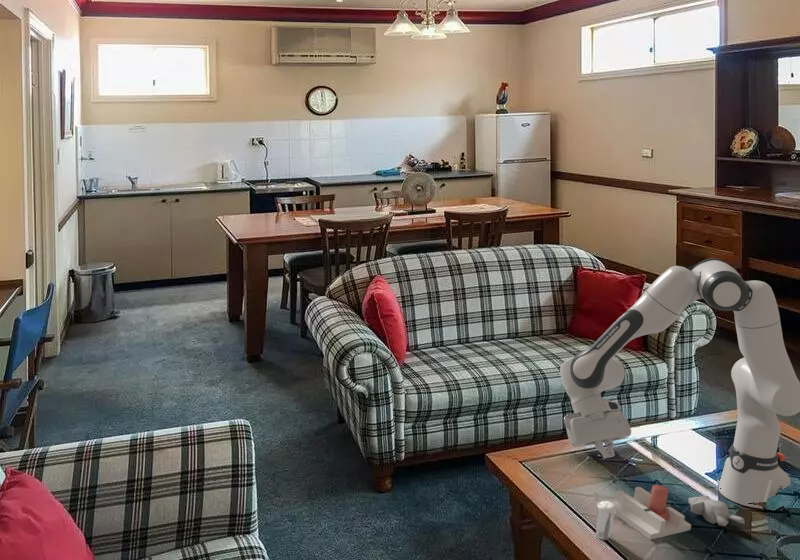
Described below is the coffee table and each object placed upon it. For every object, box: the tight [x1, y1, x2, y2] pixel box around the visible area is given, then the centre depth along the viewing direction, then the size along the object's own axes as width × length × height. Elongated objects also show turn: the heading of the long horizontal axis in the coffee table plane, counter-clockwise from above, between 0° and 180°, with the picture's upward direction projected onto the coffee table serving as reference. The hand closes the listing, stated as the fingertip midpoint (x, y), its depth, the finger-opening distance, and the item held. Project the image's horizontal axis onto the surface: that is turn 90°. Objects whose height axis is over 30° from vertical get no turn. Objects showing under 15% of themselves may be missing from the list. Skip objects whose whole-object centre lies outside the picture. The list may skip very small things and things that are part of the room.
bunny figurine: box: [688, 495, 746, 527], centre depth 198 cm, size 10×5×15 cm
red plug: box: [647, 484, 669, 521], centre depth 193 cm, size 4×4×8 cm
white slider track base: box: [610, 486, 692, 540], centre depth 196 cm, size 14×16×5 cm
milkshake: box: [594, 495, 616, 541], centre depth 185 cm, size 4×5×10 cm
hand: (609, 457), depth 208 cm, fingers closed
